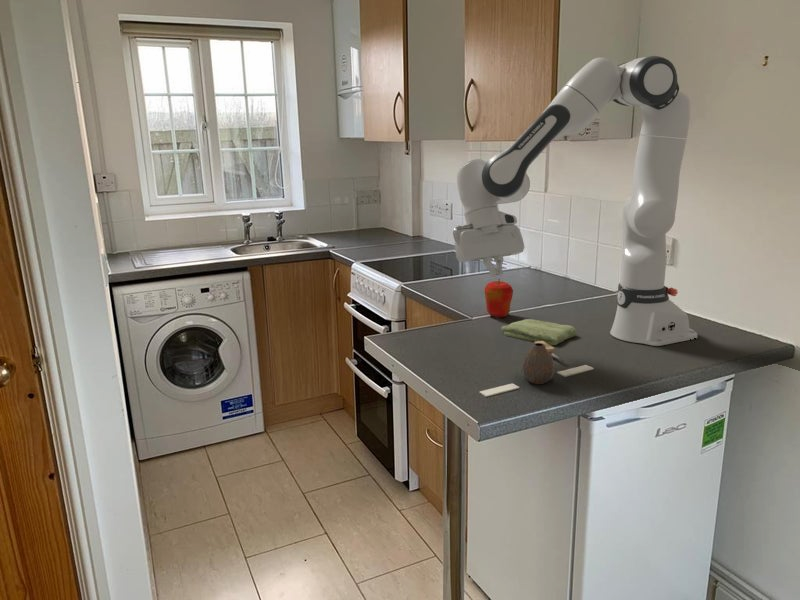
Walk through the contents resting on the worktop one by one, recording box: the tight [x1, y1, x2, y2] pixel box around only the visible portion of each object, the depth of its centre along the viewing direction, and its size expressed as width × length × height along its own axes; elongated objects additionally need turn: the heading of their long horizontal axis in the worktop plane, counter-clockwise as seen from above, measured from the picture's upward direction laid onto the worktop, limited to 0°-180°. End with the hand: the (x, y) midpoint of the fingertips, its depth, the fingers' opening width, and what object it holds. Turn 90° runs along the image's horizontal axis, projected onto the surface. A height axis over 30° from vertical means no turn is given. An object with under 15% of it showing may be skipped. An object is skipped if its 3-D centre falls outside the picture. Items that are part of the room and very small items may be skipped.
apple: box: [484, 278, 514, 318], centre depth 187 cm, size 9×8×12 cm
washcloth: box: [501, 318, 577, 347], centre depth 170 cm, size 13×18×3 cm
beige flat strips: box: [479, 364, 594, 398], centre depth 139 cm, size 31×2×1 cm, turn 117°
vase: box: [522, 343, 555, 385], centre depth 138 cm, size 7×7×9 cm
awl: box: [533, 341, 565, 364], centre depth 153 cm, size 12×2×2 cm, turn 17°
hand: (496, 274), depth 156 cm, fingers closed
